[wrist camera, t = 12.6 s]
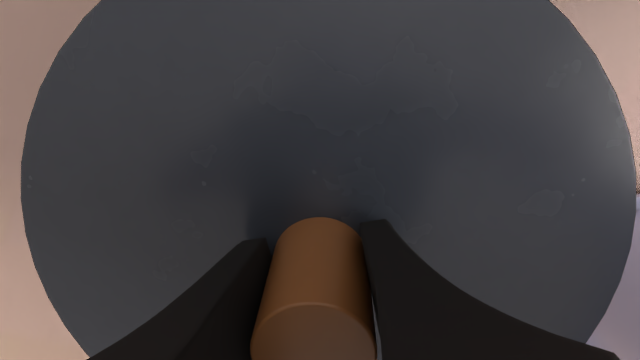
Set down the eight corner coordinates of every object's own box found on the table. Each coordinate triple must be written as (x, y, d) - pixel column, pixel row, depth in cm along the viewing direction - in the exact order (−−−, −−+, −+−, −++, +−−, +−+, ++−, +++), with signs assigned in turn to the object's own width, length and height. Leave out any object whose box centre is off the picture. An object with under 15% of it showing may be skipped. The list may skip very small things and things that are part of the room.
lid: (600, 407, 14) (706, 572, 10) (153, 452, 16) (89, 610, 12) (629, -158, 9) (887, -297, 5) (-60, 3, 11) (-322, 5, 6)
